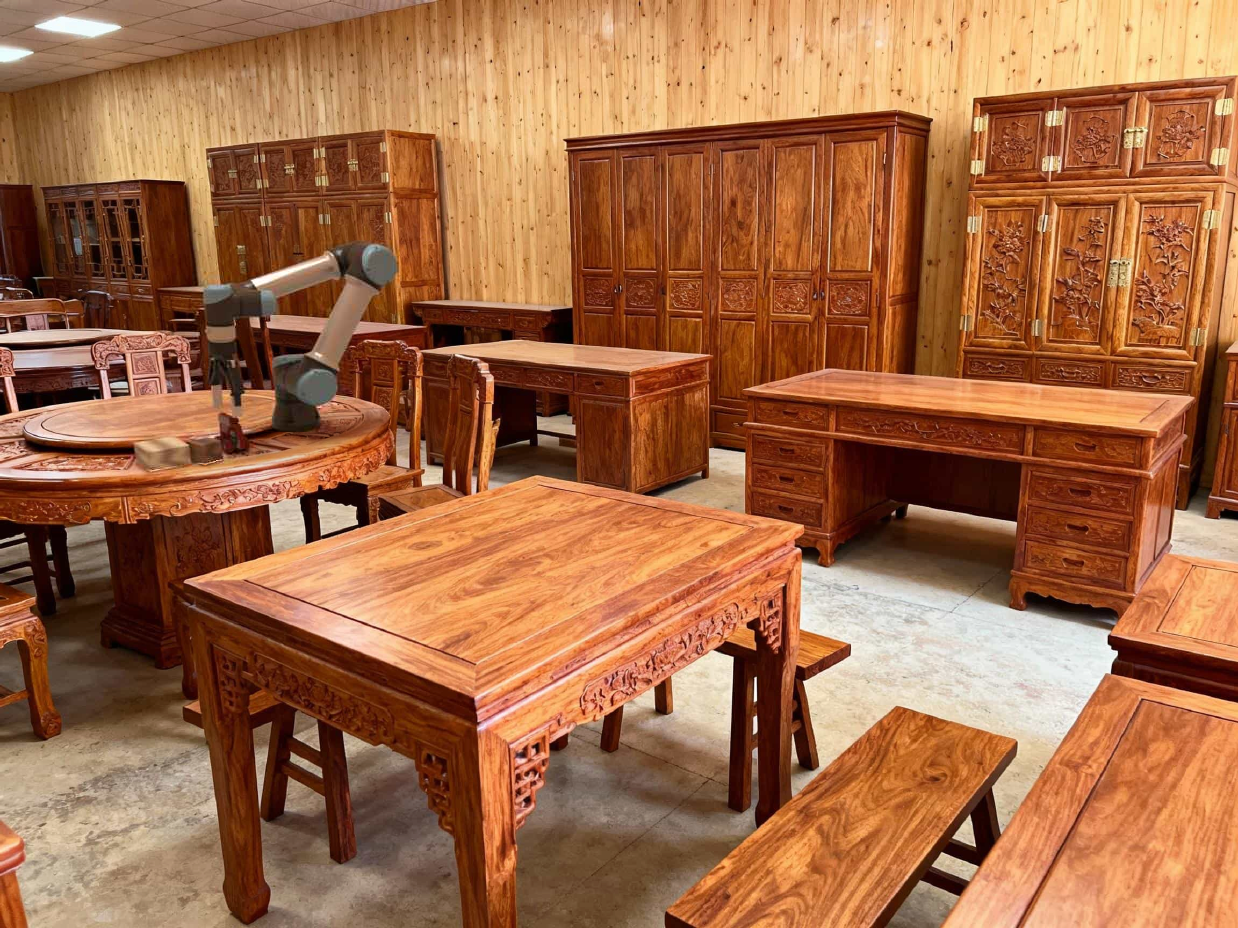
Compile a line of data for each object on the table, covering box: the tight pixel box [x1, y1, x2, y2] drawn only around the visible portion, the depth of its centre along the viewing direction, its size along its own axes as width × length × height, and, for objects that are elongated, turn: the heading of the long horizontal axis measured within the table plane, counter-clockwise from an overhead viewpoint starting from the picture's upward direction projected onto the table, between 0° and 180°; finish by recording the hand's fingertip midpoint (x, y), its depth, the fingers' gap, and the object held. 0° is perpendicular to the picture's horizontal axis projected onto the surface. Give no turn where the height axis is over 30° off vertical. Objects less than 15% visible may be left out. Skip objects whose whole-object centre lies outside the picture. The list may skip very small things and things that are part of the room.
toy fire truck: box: [213, 412, 251, 455], centre depth 271 cm, size 7×12×10 cm, turn 48°
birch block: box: [133, 435, 192, 470], centre depth 258 cm, size 11×11×6 cm
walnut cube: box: [188, 436, 224, 464], centre depth 261 cm, size 6×6×6 cm
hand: (227, 411), depth 269 cm, fingers open, 13 cm apart
